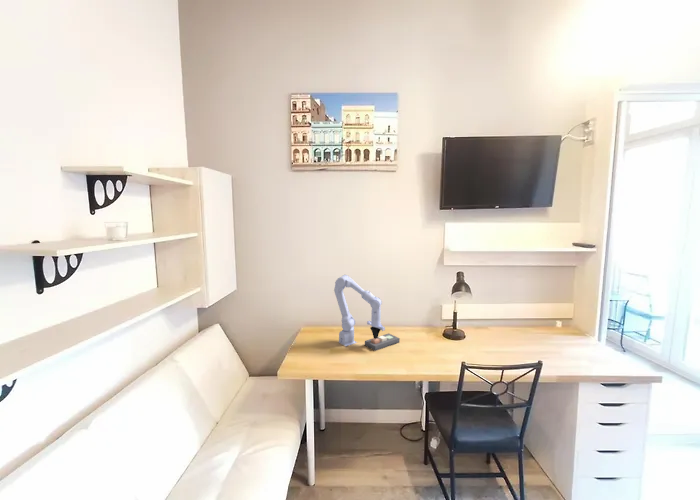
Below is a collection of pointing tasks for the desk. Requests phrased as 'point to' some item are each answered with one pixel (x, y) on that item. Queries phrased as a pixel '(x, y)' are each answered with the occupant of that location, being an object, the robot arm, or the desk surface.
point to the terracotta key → (375, 341)
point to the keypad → (382, 343)
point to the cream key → (382, 338)
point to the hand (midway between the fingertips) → (375, 338)
